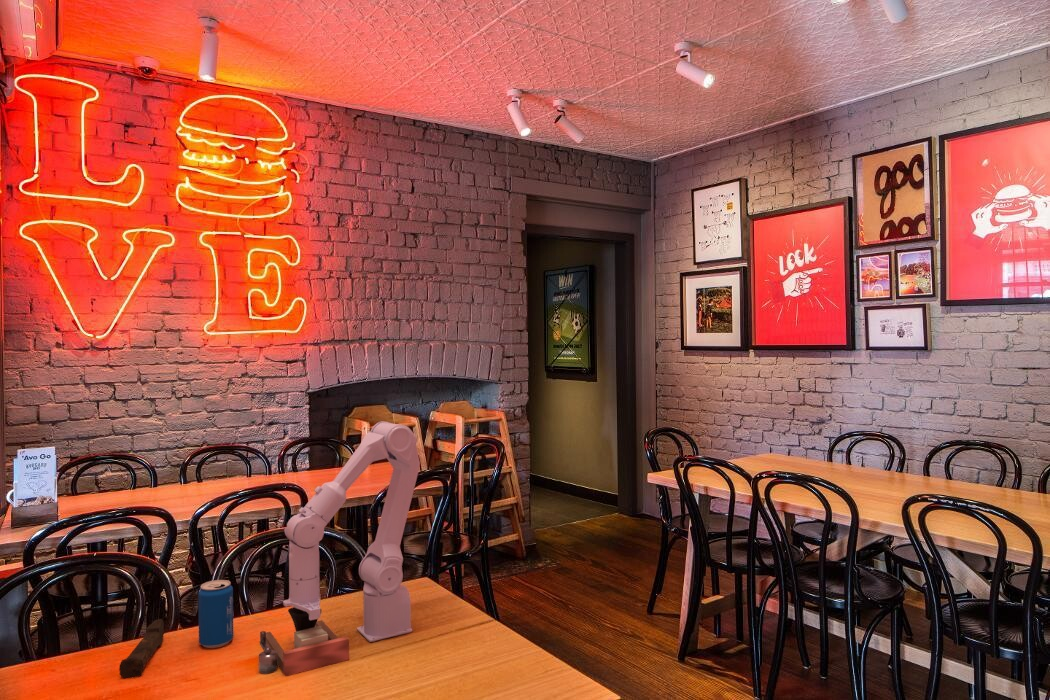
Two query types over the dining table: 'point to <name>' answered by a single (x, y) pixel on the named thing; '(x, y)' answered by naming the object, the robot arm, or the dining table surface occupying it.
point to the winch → (267, 656)
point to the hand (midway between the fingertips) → (305, 644)
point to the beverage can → (215, 613)
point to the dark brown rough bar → (143, 651)
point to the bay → (310, 653)
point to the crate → (309, 637)
